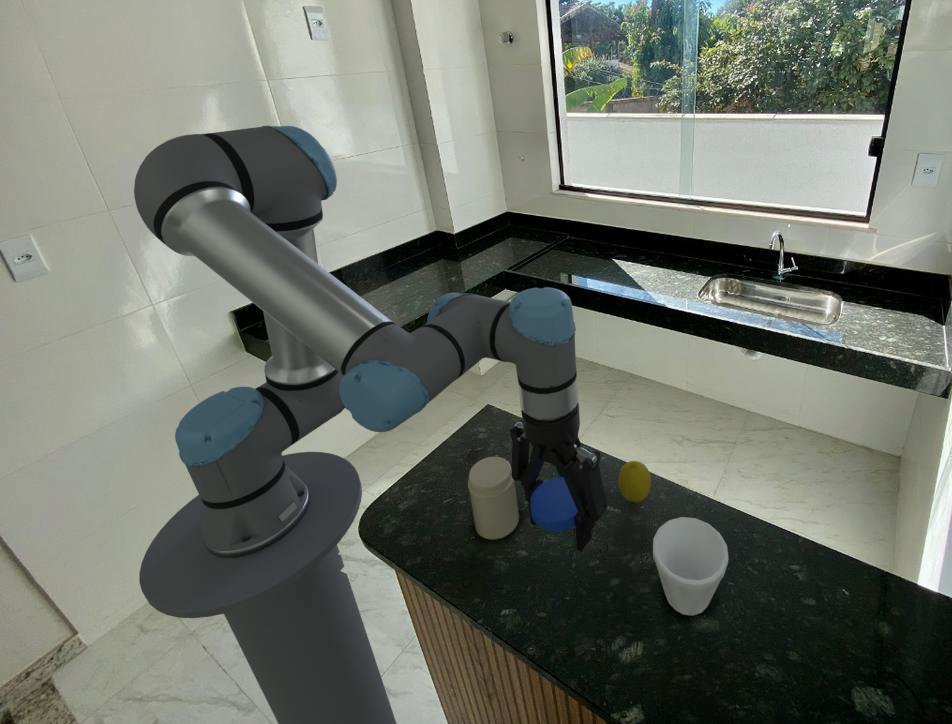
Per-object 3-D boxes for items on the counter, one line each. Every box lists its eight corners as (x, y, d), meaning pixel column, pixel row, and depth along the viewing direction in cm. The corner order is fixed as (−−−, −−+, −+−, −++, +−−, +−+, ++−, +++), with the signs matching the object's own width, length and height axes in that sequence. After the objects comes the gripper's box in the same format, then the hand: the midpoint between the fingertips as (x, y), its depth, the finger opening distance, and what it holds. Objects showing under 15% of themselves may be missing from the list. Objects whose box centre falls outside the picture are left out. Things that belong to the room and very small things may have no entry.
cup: (637, 598, 68) (637, 552, 64) (676, 548, 74) (678, 504, 71) (700, 649, 61) (704, 601, 58) (736, 589, 68) (742, 543, 65)
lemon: (612, 501, 83) (611, 465, 80) (631, 481, 87) (631, 446, 84) (638, 518, 80) (638, 481, 77) (657, 497, 84) (658, 461, 80)
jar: (465, 531, 78) (456, 481, 74) (491, 497, 84) (483, 450, 80) (504, 545, 76) (496, 494, 72) (527, 509, 82) (521, 461, 78)
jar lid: (596, 501, 71) (595, 491, 70) (564, 541, 65) (563, 531, 64) (553, 479, 75) (552, 470, 74) (519, 516, 69) (518, 506, 68)
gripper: (633, 413, 61) (634, 542, 69) (509, 368, 71) (523, 485, 80) (601, 450, 55) (607, 586, 64) (472, 395, 65) (491, 519, 74)
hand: (560, 530), depth 72 cm, fingers closed on jar lid, 8 cm apart
